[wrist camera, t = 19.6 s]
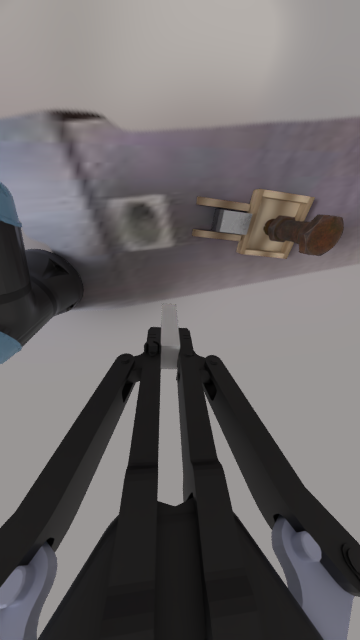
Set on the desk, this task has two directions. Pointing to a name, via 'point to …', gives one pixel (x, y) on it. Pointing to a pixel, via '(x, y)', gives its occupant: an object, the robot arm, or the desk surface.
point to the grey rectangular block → (231, 221)
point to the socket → (260, 221)
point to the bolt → (306, 232)
